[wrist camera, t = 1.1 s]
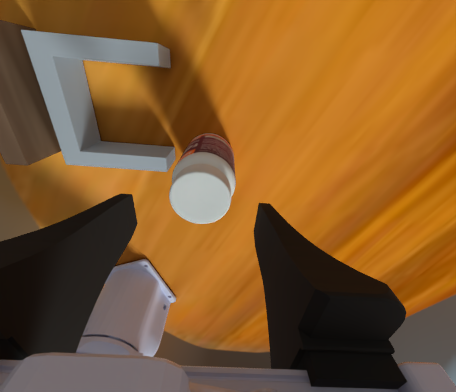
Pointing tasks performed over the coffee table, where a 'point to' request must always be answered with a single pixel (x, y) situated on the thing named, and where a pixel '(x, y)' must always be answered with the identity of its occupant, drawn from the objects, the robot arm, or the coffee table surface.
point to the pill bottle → (204, 180)
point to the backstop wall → (22, 103)
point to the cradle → (81, 99)
